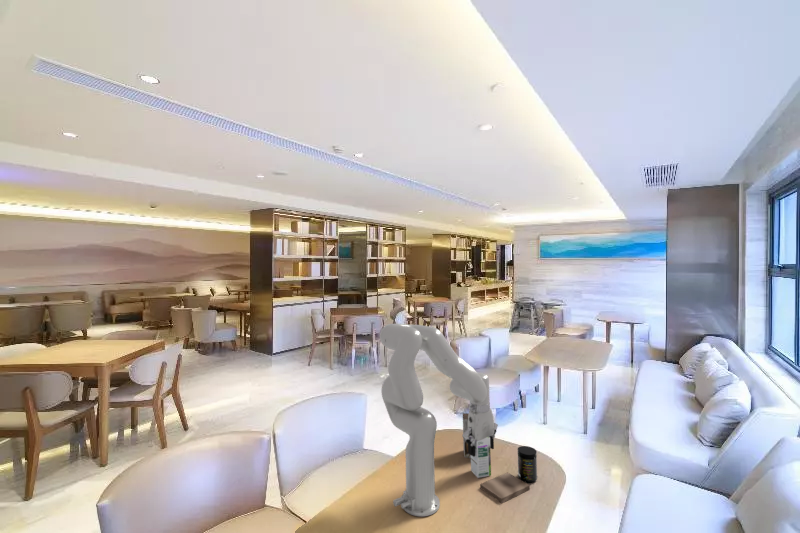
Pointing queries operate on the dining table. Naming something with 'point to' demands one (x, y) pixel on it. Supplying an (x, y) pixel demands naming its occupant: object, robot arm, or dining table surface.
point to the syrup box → (481, 458)
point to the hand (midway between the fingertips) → (481, 451)
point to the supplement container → (527, 464)
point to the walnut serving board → (504, 487)
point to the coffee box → (465, 427)
